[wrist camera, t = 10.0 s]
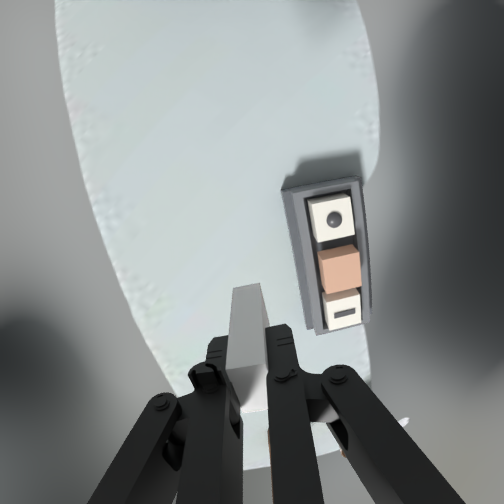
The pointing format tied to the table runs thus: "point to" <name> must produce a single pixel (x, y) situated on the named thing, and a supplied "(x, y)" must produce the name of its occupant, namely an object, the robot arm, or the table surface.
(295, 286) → the table surface
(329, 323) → the bar key
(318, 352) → the table surface
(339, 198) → the dot key
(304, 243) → the keypad
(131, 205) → the table surface
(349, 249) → the blank key
